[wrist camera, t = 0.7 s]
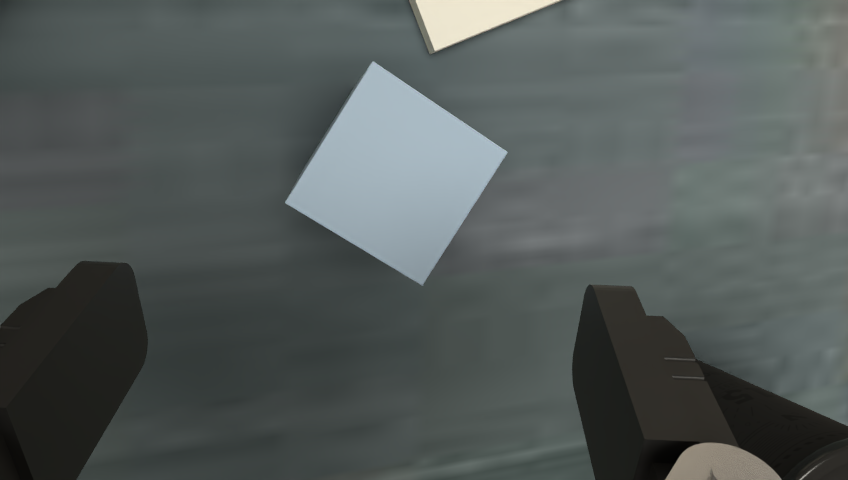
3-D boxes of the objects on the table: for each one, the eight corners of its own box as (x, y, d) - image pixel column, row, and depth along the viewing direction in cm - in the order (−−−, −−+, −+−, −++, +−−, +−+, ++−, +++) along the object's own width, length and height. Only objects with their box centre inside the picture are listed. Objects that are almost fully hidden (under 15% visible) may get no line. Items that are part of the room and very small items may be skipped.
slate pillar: (299, 175, 32) (285, 202, 20) (354, 85, 32) (373, 60, 20) (387, 229, 33) (422, 285, 21) (441, 143, 33) (507, 152, 21)
